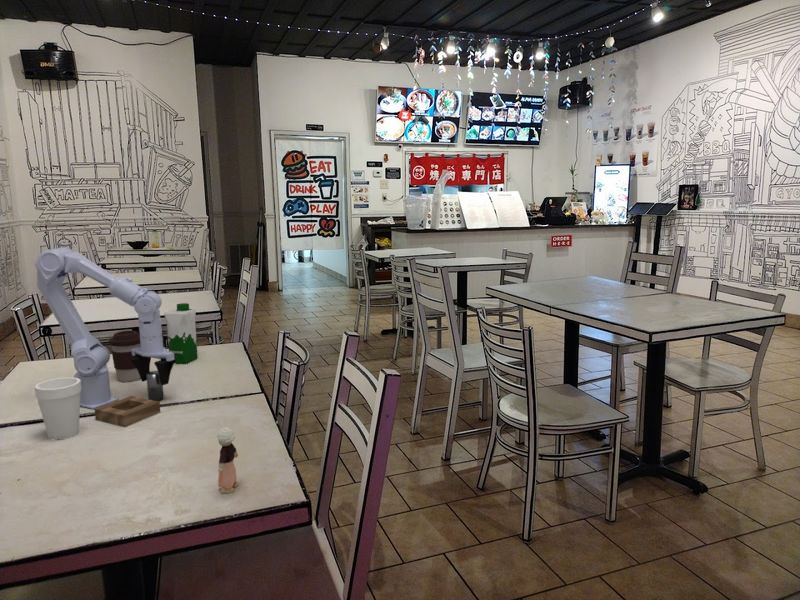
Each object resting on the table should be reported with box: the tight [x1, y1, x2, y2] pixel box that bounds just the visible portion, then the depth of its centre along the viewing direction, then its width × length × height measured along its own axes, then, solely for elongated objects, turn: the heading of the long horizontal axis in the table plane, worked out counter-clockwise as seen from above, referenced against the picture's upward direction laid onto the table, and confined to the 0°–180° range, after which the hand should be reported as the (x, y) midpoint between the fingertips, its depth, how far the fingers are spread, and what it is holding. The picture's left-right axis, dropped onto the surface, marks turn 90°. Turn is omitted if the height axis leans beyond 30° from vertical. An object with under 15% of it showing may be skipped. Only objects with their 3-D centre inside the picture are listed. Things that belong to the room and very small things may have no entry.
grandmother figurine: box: [216, 427, 239, 494], centre depth 111 cm, size 8×4×13 cm, turn 5°
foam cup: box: [34, 376, 82, 441], centre depth 137 cm, size 10×9×13 cm
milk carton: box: [163, 302, 199, 365], centre depth 198 cm, size 9×9×20 cm
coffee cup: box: [108, 330, 141, 383], centre depth 179 cm, size 10×10×15 cm
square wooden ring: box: [94, 395, 162, 428], centre depth 150 cm, size 11×11×3 cm
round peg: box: [146, 370, 165, 402], centre depth 161 cm, size 4×4×8 cm
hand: (155, 382), depth 161 cm, fingers open, 7 cm apart
